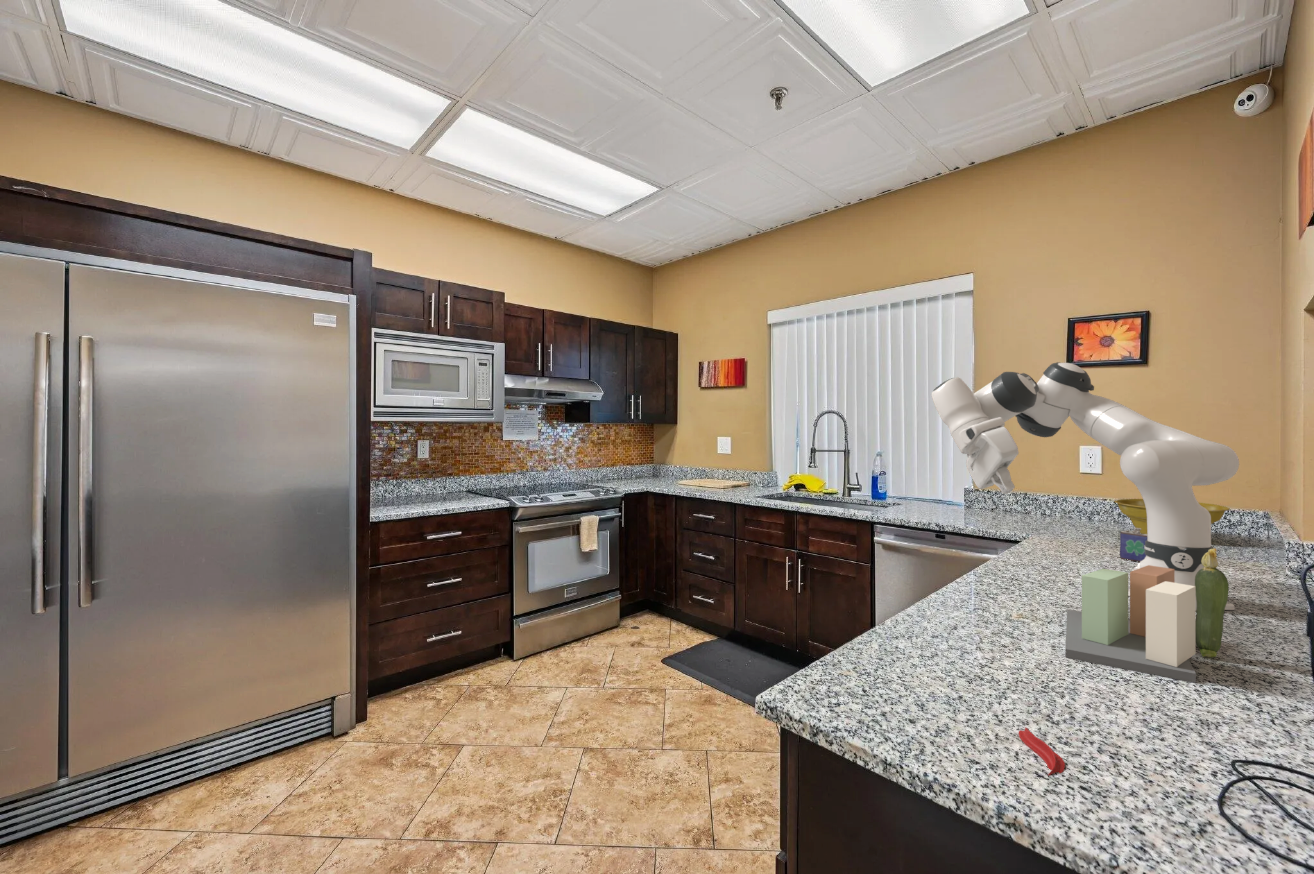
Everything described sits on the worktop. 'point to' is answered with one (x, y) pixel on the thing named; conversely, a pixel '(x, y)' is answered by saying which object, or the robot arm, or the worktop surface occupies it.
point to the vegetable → (1210, 605)
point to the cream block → (1170, 623)
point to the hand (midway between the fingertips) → (1009, 491)
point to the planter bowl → (1139, 515)
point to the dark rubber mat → (1119, 652)
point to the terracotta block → (1144, 593)
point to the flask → (1132, 545)
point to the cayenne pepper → (1043, 751)
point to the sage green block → (1104, 606)
